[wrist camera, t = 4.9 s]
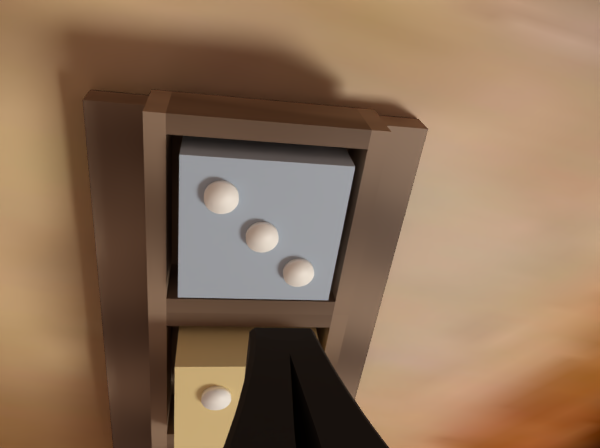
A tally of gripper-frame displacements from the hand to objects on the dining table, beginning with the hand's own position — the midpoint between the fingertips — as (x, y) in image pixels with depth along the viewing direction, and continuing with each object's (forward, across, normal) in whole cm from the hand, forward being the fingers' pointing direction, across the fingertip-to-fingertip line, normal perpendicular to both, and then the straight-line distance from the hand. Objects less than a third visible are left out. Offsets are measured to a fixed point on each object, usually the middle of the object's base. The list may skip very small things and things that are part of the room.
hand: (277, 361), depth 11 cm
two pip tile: (+6, 0, +7) cm, 9 cm away
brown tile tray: (+9, 0, +7) cm, 11 cm away
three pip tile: (+7, 0, 0) cm, 7 cm away
